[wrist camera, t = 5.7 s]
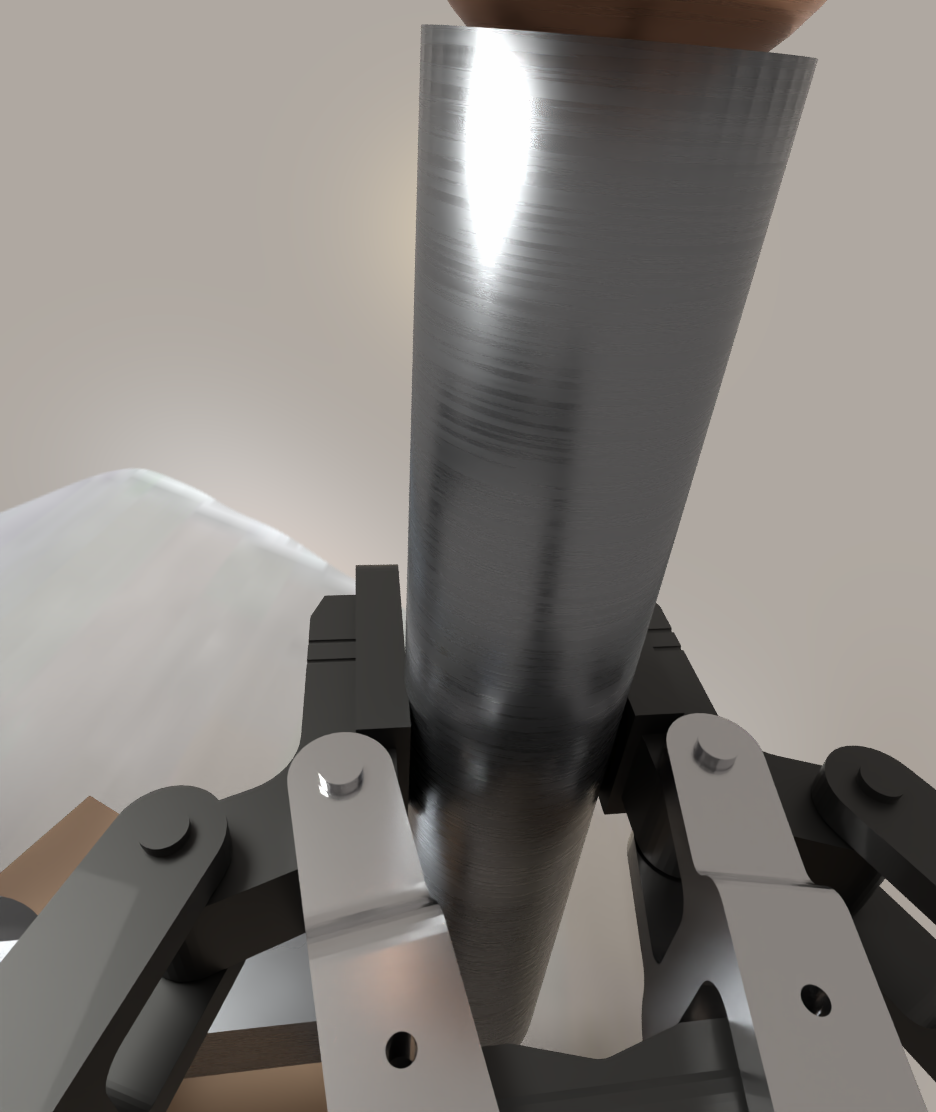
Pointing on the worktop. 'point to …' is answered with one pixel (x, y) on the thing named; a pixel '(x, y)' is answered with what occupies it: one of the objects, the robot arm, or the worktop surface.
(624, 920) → the worktop surface
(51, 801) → the worktop surface
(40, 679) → the worktop surface
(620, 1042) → the worktop surface
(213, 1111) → the cracker base
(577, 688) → the lever
